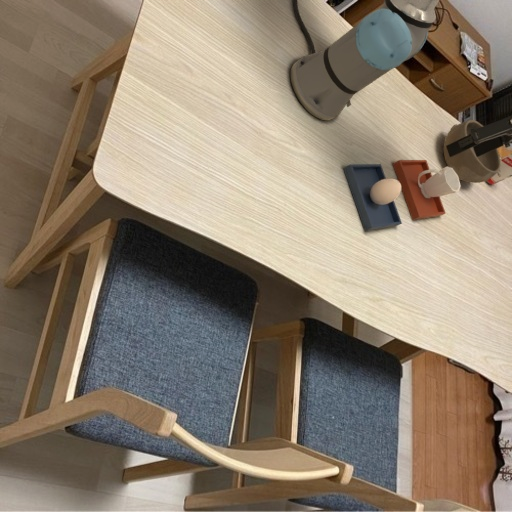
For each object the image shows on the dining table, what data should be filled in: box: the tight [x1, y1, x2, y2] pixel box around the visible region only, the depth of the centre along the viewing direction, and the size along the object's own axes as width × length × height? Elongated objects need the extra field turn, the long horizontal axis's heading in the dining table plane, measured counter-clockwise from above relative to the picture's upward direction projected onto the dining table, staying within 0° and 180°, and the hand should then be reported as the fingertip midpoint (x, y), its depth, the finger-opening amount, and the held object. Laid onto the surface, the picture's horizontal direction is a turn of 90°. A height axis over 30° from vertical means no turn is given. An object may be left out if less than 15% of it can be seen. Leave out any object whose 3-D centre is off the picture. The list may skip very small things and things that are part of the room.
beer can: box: [485, 153, 512, 185], centre depth 172 cm, size 6×6×16 cm
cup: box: [418, 165, 461, 198], centre depth 145 cm, size 7×10×8 cm
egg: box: [370, 178, 402, 205], centre depth 129 cm, size 6×6×8 cm
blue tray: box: [343, 163, 403, 232], centre depth 132 cm, size 15×12×2 cm
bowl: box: [443, 119, 501, 184], centre depth 163 cm, size 17×18×10 cm
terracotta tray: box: [392, 159, 447, 221], centre depth 147 cm, size 15×13×2 cm
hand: (462, 151), depth 133 cm, fingers open, 13 cm apart
